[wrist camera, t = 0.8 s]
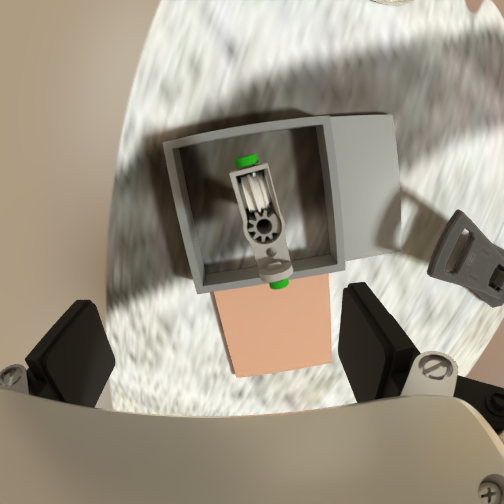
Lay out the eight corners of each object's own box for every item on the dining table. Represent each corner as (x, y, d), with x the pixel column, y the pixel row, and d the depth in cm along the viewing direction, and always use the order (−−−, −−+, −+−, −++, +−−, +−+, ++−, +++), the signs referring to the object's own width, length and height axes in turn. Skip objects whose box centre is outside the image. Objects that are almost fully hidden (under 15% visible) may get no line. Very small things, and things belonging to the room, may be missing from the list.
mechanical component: (257, 250, 32) (262, 294, 23) (231, 158, 29) (224, 162, 19) (283, 244, 32) (299, 285, 23) (259, 150, 29) (266, 151, 19)
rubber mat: (326, 267, 33) (328, 269, 32) (330, 359, 38) (331, 362, 37) (213, 285, 34) (212, 287, 33) (236, 374, 38) (236, 377, 38)
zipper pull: (460, 202, 24) (542, 275, 28) (427, 191, 30) (516, 259, 34) (423, 280, 27) (515, 325, 30) (396, 257, 33) (493, 306, 37)
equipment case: (389, 115, 27) (402, 113, 24) (398, 248, 32) (409, 257, 30) (170, 142, 28) (162, 142, 25) (200, 281, 33) (197, 294, 30)
